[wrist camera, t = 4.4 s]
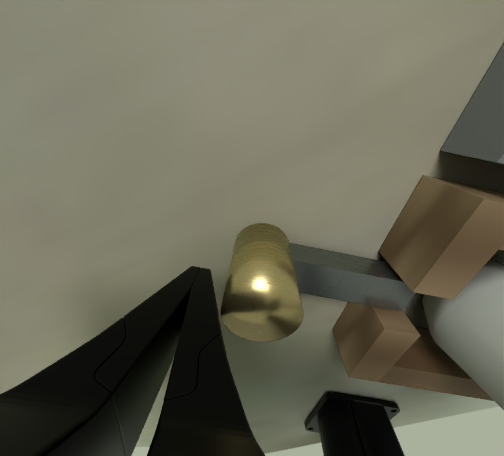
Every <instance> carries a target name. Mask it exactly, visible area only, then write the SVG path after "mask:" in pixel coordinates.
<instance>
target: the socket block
mask: <svg viewBox="0 0 504 456" xmlns="http://www.w3.org/2000/svg"><path fill="white" fill-rule="evenodd" d="M498 250H503V251H504V193H499V192H495V191H491V190H486V189H482V188H477V187H473V186H468V185H464V184H459V183H455V182H450V181H446V180H442V179H437V178H433V177H428V176H424V175H423V177H422V178H421V180H420V182H419V183H418V185H417V187H416V188H415V190H414V192H413V194H412V195H411V197H410V199H409V200H408V202H407V204H406V205H405V207H404V209H403V211H402V212H401V214H400V216H399V217H398V219H397V221H396V222H395V224H394V226H393V228H392V229H391V231H390V233H389V234H388V236H387V238H386V239H385V241H384V243H383V245H382V246H381V248H380V250H379V252H380V254H381V255H382V256H383V257H384V258H385V260H386V261H387V262H388V263H389V264H390V266H391V267H392V268H393V269H394V270H395V271H396V273H397V274H398V275H399V276H400V277H401V279H402V280H403V281H404V282H405V283H406V285H407V286H408V287H409V288H410V289H411V290H412V292H415V293H420V294H425V295H431V296H436V297H441V298H446V299H452V300H453V299H454V298H455V297H456V296H457V295H458V294H459V293H460V291H461V290H462V289H463V288H464V287H465V286H466V285H467V284H468V283H469V282H470V280H471V279H472V278H473V277H474V276H475V275H476V274H477V273H478V272H479V271H480V269H481V268H482V267H483V266H484V265H485V264H486V263H487V262H488V261H489V260H490V258H491V257H492V256H493V255H494V254H495V253H496V252H497V251H498ZM333 332H334V335H335V338H336V341H337V345H338V348H339V351H340V354H341V357H342V360H343V363H344V366H345V369H346V372H347V375H348V377H352V378H358V379H364V380H370V381H376V382H382V383H388V384H394V385H400V386H406V387H413V388H419V389H425V390H431V391H437V392H443V393H449V394H455V395H461V396H467V397H473V398H480V399H486V400H492V401H494V400H493V399H492V398H491V397H490V396H489V395H488V394H487V393H486V392H485V391H484V390H483V389H482V388H481V387H480V386H479V385H478V384H477V383H476V382H475V381H474V380H473V379H472V378H471V377H470V376H469V375H468V374H467V373H466V372H465V371H464V370H463V369H462V368H461V367H460V366H459V365H458V364H457V363H456V362H455V361H454V360H453V359H451V358H450V357H449V356H448V355H447V354H446V353H445V352H444V351H443V350H442V349H441V348H440V347H439V346H438V345H437V344H436V343H435V341H434V339H433V338H432V336H431V334H430V331H429V329H424V328H418V327H414V325H413V324H412V323H411V321H410V320H409V318H408V317H407V316H406V314H405V313H404V311H397V310H392V309H386V308H381V307H376V306H370V305H365V304H359V303H354V302H348V304H347V306H346V307H345V309H344V311H343V313H342V314H341V316H340V318H339V319H338V321H337V323H336V324H335V326H334V328H333Z"/></svg>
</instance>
